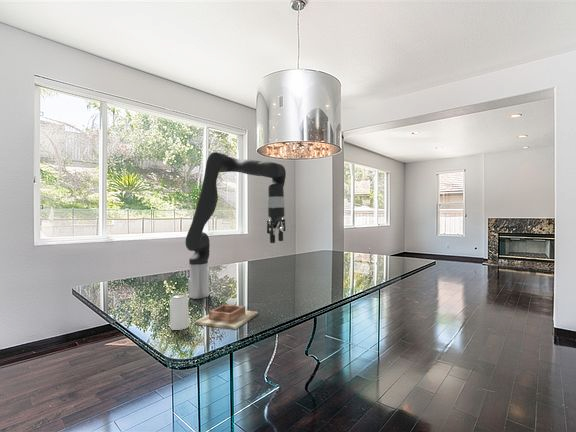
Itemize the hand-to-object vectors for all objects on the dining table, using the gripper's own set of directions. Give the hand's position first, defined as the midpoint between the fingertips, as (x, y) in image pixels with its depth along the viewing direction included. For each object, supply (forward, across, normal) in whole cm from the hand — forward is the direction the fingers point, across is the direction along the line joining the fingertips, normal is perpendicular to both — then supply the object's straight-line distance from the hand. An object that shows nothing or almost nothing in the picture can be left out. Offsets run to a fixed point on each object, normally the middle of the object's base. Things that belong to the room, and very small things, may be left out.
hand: (276, 241), depth 141 cm
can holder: (+29, +25, -10) cm, 39 cm away
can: (+29, +40, -21) cm, 54 cm away
